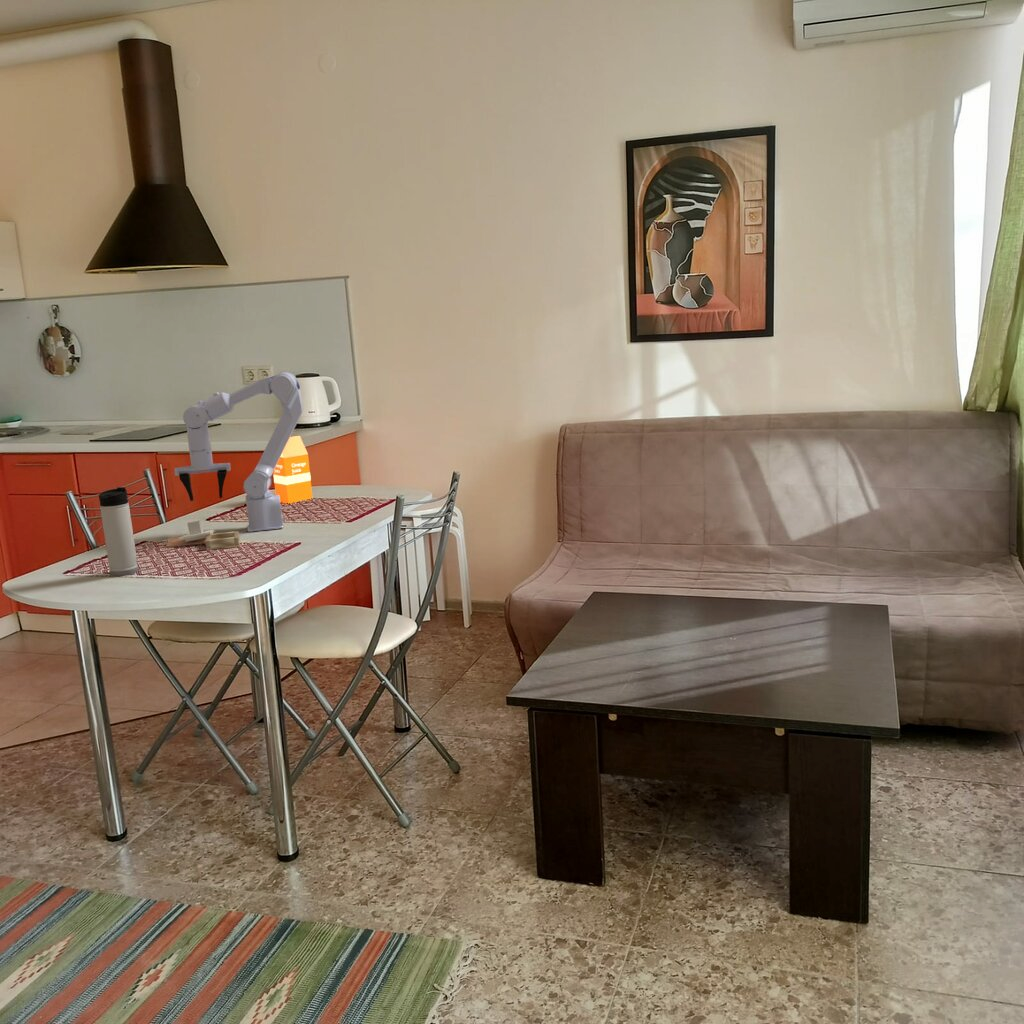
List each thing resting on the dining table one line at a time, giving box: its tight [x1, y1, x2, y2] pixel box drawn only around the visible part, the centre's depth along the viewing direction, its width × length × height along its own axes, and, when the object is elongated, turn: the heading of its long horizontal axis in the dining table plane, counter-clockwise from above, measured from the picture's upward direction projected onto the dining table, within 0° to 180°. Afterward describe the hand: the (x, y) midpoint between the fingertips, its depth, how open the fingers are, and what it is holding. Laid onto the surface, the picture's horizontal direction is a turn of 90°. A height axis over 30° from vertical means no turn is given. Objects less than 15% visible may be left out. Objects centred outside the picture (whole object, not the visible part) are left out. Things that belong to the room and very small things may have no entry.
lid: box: [179, 519, 215, 542], centre depth 258 cm, size 8×8×5 cm
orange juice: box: [272, 435, 313, 504], centre depth 308 cm, size 8×9×20 cm
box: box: [205, 530, 240, 551], centre depth 254 cm, size 8×8×2 cm
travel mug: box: [98, 486, 139, 577], centre depth 230 cm, size 6×7×20 cm
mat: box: [165, 533, 213, 548], centre depth 261 cm, size 11×11×1 cm
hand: (206, 498), depth 268 cm, fingers open, 7 cm apart
